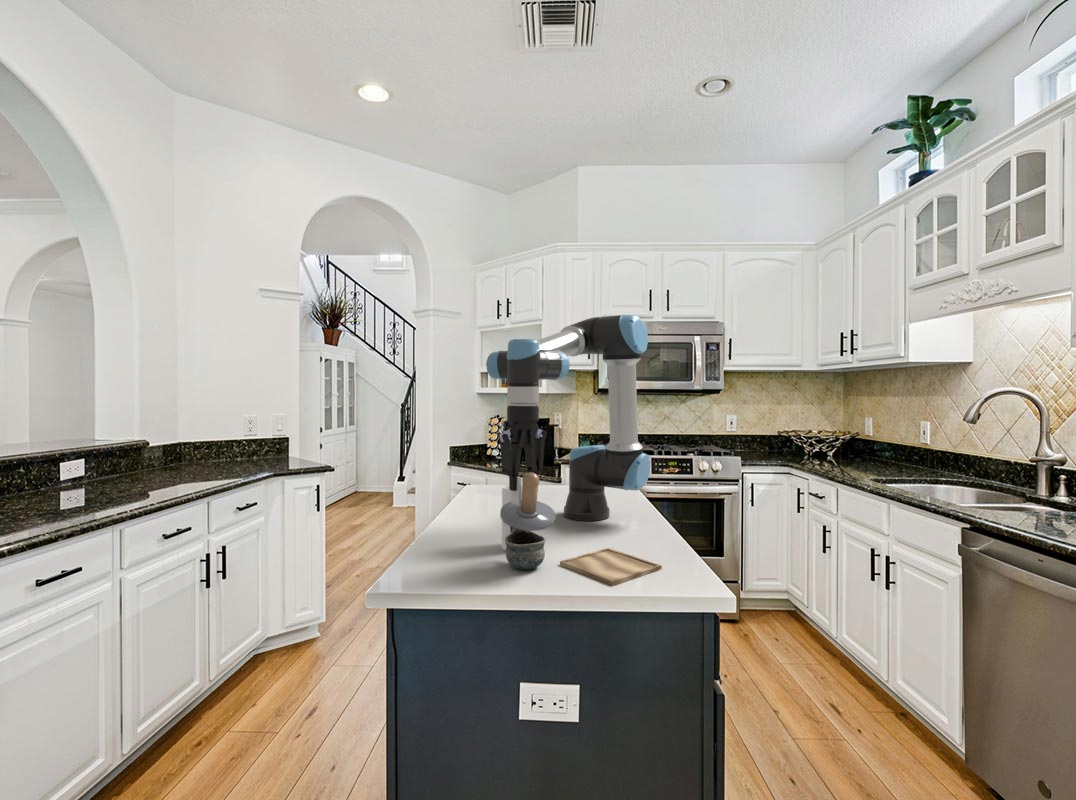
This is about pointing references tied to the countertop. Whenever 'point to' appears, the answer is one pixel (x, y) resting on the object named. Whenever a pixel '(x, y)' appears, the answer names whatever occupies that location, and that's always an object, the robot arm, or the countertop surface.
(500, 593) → the countertop surface
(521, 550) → the mug
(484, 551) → the countertop surface
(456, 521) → the countertop surface
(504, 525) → the cup
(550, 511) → the lid
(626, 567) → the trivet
